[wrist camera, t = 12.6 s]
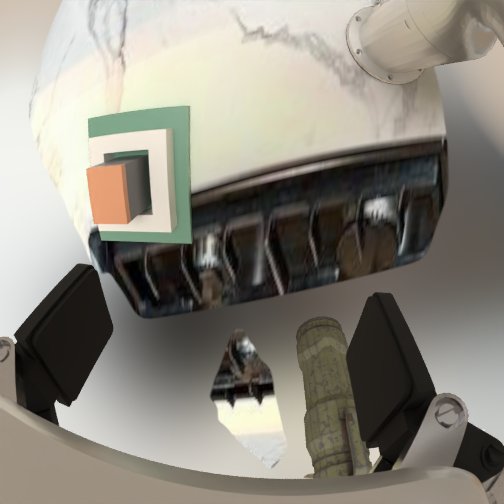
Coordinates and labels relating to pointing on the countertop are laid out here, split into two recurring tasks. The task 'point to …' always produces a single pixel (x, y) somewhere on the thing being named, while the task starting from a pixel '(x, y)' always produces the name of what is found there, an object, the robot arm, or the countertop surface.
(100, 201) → the plug
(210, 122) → the countertop surface
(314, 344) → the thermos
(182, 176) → the board
